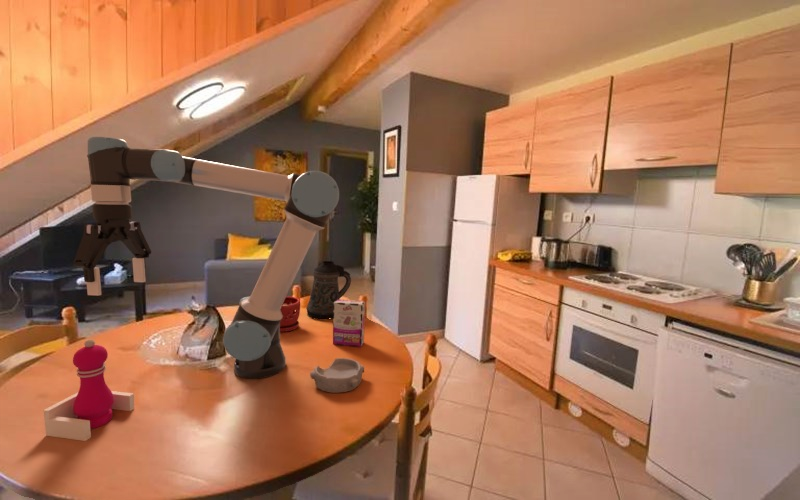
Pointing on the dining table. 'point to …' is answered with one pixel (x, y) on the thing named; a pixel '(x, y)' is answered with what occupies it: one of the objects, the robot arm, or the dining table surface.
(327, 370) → the dish
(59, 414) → the bracket
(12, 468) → the dining table surface
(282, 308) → the plant pot
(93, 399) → the pepper mill
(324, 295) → the beer stein
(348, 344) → the candy bar box
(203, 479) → the dining table surface
